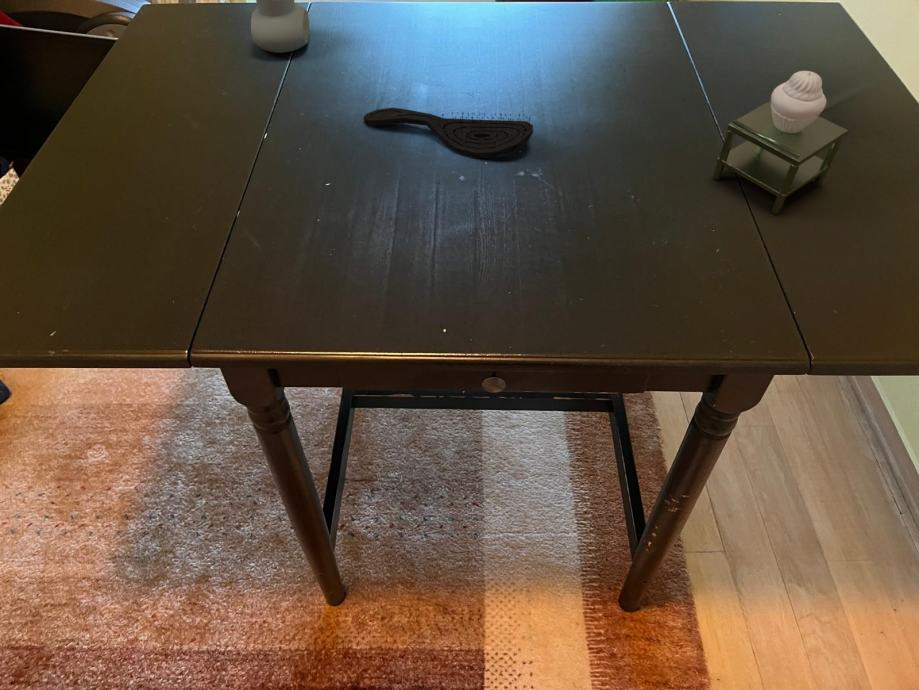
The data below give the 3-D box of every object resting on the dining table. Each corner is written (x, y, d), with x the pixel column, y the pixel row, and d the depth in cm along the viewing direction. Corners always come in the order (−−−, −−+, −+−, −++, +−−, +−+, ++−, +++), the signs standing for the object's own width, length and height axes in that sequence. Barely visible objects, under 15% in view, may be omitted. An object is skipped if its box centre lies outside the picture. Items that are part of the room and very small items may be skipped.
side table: (758, 149, 94) (779, 91, 87) (822, 184, 89) (851, 125, 82) (711, 177, 90) (730, 119, 83) (775, 216, 85) (801, 156, 78)
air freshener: (264, 30, 118) (250, -32, 110) (312, 28, 118) (301, -33, 111) (255, 62, 111) (238, -2, 104) (306, 60, 111) (293, -3, 104)
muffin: (825, 130, 83) (850, 75, 77) (791, 146, 81) (813, 92, 75) (784, 107, 86) (805, 53, 81) (750, 122, 84) (769, 68, 79)
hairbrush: (373, 88, 100) (540, 107, 94) (377, 110, 103) (539, 131, 97) (350, 118, 95) (524, 141, 89) (354, 141, 98) (524, 165, 92)
